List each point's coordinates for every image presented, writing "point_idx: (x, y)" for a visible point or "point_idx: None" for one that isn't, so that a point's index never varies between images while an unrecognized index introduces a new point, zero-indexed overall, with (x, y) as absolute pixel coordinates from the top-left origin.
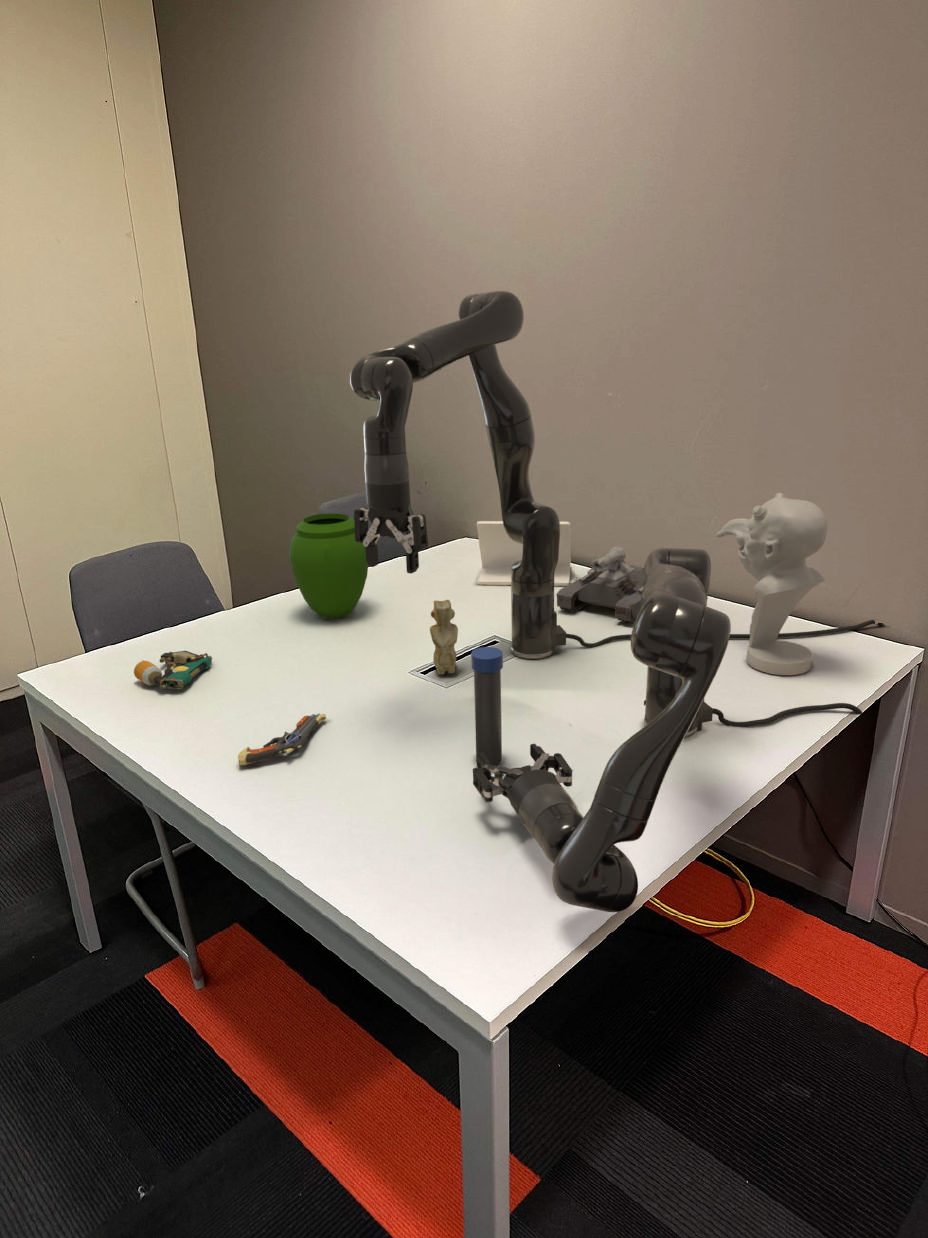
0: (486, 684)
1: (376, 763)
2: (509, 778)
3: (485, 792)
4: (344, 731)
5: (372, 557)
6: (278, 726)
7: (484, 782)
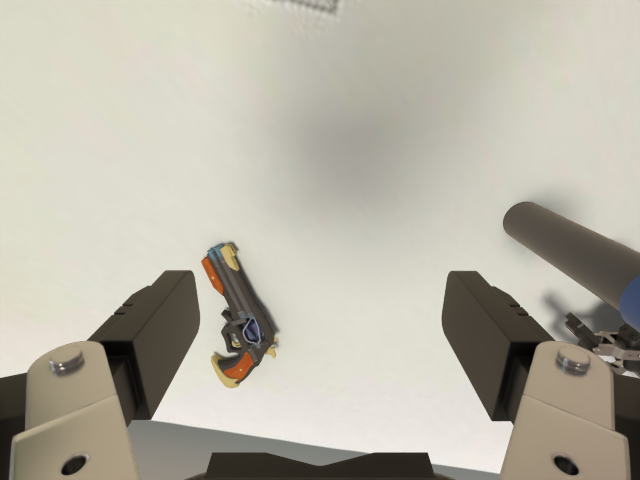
0: None
1: (376, 297)
2: (638, 360)
3: None
4: (278, 251)
5: (179, 347)
6: None
7: None
